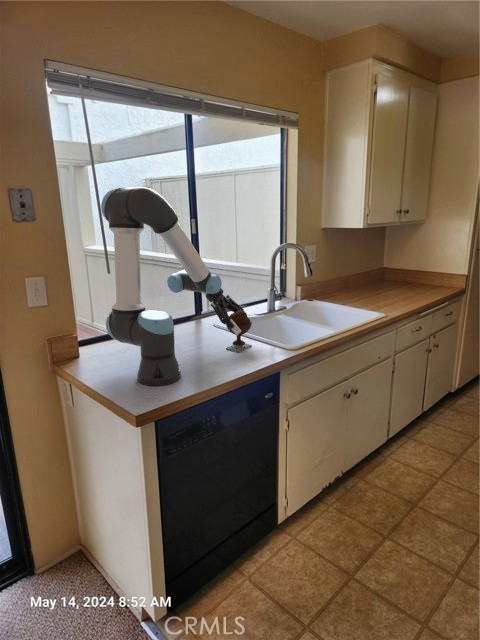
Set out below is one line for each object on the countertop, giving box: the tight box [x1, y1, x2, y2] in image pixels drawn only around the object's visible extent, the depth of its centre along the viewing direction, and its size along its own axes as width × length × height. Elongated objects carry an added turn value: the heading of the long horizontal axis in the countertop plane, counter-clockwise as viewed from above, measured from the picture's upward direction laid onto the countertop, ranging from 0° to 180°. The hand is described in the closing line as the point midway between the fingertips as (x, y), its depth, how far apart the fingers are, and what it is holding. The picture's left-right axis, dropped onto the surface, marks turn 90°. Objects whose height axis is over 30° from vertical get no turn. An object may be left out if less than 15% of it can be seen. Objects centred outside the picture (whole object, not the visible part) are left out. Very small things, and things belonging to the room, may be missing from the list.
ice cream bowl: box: [225, 310, 253, 346], centre depth 173 cm, size 11×11×15 cm
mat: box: [225, 343, 253, 353], centre depth 176 cm, size 10×7×1 cm
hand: (244, 329), depth 172 cm, fingers closed on ice cream bowl, 11 cm apart
